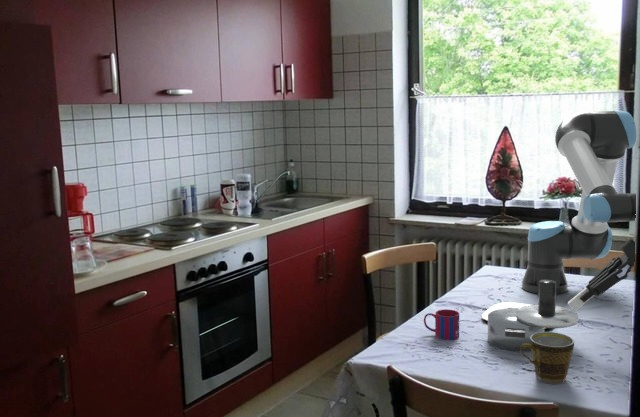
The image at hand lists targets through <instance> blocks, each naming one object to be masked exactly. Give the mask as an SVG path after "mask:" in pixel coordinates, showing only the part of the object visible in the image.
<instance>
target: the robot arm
mask: <svg viewBox="0 0 640 417" xmlns="http://www.w3.org/2000/svg"><path fill="white" fill-rule="evenodd" d="M554 137H555V145H556V146H555V147H556V148H557V150H558V152H559V154H560V155H561V156H562V157H565V158H566V160H567V162H568V164H569V166H570V168H571V170H572V172H573V174H574V176H575V178H576V179H577V182H578V184H579V185H580V187H581V190H582V191H581V196H580V200H579V201H580V203H579V207H578V212H577V215H576V216H574V217H572V219H571V224H570V225H565V223H564V222H563V221H560V220H546V221H541V222H537V223H534V224H532V225H530V227H529V228H528V236H527V241H528V242H527V267H526V270H525V272H524V275H523V278H522V281H521V288H522V289H523V290H524V291H526V292H528V293H529V292H530V293H533V294H537V295H539V281H540V280H553V281H555V282H556V295H559V294H564V293H566V292H568V285H569V284H568V281H567V277H566V274H565V271H564V268H563V267H564V260H582V259H583V260H584V259H589V260H595V259H602V258H604V257H606V256H607V255H608V254H609V252H610V251H611V248H612V244H613V240H612V238H613V233H612V229H611V227H610V226H609V224H608V223H618V222H620V223H622V222H636V221H635V218H636V215H635V214H636V193H637V192H633V193H628V192H627V193H618V192H617V190H616V189H615V187H614V185H613V183H614V180H615V174H616V171H617V165H618V161H619V160H620V159H622V158H624V156H625V154H626V149H628V150H629V149H632V148H634V146H635V144H636V142H637V128H636V123H635V119H634V117H633V116H632V114H631V113H630V112H628V111H625V110H624V111H623V110H615V109H614V110H609V111H608V110H602V111H579V112H574V113H571V114H570V115H568V116H567V117H566V118H564V119H563V120H562V121H561V122H560V123H559V126H558V127H557V129H556V131H555V135H554ZM620 249H621V251H622V252H623V254H622V255H620V256H617V257H613V258H612V259H611V260H610V261H609V263H607V264H606V265H605V266H604V267H603V268H602V269H601V270H600V271H599V272H597V274H596V275H594V277H592V278H591V279H590V280H589V281H588V283H587V285H586V286H585V287H584V288H583V289H582V290H581V291H579V292H578V293H577V294H576V295H575V296H574V297H572V298H571V299H569V301H567V305H569V306H570V308H571V309H572V310H574V312H576V311H578V310H579V309H580V308H582V306H584V305H585V304H586V303H588V301H590V300H591V299H592V298H594V297H599V296H601V295H602V294H603V293H605V292H606V291H608V290H609V289H610V288H612V287H614V286H615V285H616V284H618V283H620V282H621V281H623V280H625V279H627V278H628V276H629V275H628V274H629V273H631V271H632V270H631V269H633V268H634V266H635V265H634V262H635V235H634V236H633V239H632V238H630V239H629V240H627V241H626V242H625V243H624V244H622V245H621V247H620Z"/></svg>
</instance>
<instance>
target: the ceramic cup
mask: <svg viewBox="0 0 640 417" xmlns="http://www.w3.org/2000/svg"><path fill="white" fill-rule="evenodd" d="M530 343H531V345H530V344H527V343H526V344H523V345H522V346H521V348H520V351H519V352H520V354H521V355H522V356H523V357H524V358H526V359H527V360H528V361H529V362H531V364H533V367H534V371H535V378H536V379H537V380H538V381H539V382H541V383H543V382H544V383H545V384H548V385H560V383H561V384H564V382H565V381H566V379H567V376H568V371H569V367H570V364H571V363H570V362H571V360H572V359H571V358H572V355H573V350H574V346H575V339H574V338H573V337H571V336H570V335H566V334H563V333H561V332H552V331H551V332H550V331H544V332H540V333H535V334H533V335H531V337H530ZM524 347H530V348H531V350H532V351H531V353H532V359H531V358H530V357H529V356H527V355H526V354H525V353H524V352H522V349H523V348H524ZM544 383H543V384H544Z"/></svg>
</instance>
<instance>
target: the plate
mask: <svg viewBox="0 0 640 417" xmlns="http://www.w3.org/2000/svg"><path fill="white" fill-rule="evenodd" d="M530 305H531V304H530V303H522V302H521V303H520V302H512V301H511V302H510V301H509V302H506V301H503V302H499V303H495V304H494V305H491V306H490V307H489V308H487V310H485V311H484V312H483V313H482V314H481V318H482V320H483V321H486V322H488V314H489V313H490V312H492V311H495V310H499V309H508V308H521V307H524V306H530ZM546 329H548V328H544V330H546Z"/></svg>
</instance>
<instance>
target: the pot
mask: <svg viewBox="0 0 640 417" xmlns="http://www.w3.org/2000/svg"><path fill="white" fill-rule="evenodd" d="M517 309H519V308H508V309H499V310H495V311H492V312H490V313H489V314H488V321H487V342H488V343H489V344H490V345H491V346H493V347H494V348H496V349H497V348H498V349H501V350H504V351H510V352H520V348H521V346H522V345H523V344H526V343H527V344H530V345H531V343H530V337H531V335H533V334H535V333H540V332H545V329H544V328H542V327H536V326H531V325H528V324H525V323H522V322H521V321H519V320H518V319H517V318H516V311H517ZM524 352H532V350H531V348H530V347H524V348H523V349H522V353H524Z"/></svg>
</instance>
